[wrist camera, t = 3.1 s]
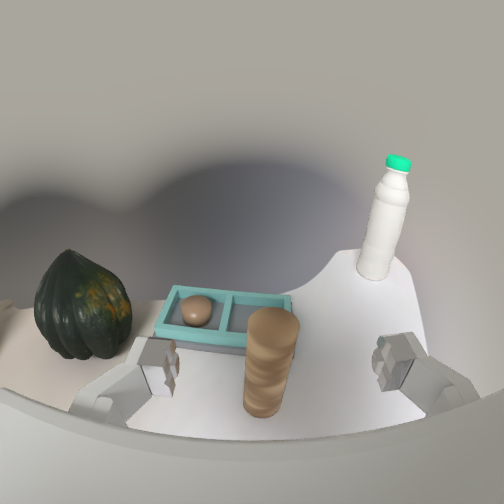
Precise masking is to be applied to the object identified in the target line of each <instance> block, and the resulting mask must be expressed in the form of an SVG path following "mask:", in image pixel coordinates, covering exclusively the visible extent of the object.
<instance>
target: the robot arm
mask: <svg viewBox="0 0 504 504" xmlns="http://www.w3.org/2000/svg"><path fill="white" fill-rule="evenodd" d="M377 345H378V348H377V349H376V350H374V352H373V356H372V367H373V370H374V372H375V373H376V374H377V375H379V377H378V380H377V381H378V383H379V386H380V388H381V391H382V392H384V391H391V390H398V389H400V391H401V392H402V393H403V394H404V395H405V396H407V397H408V398H409V399H410V400H411V401H412V402H413V403H414V404H416V405H417V406H418V407H419V408H420V409H421V410H422V411H423V412H425V413H426V416H425V417H424V418H422V419H419V420H415V421H411V422H407V423H403V424H399V425H394V426H390V427H385V428H380V429H375V430H370V431H364V432H358V433H352V434H345V435H338V436H330V437H321V438H310V439H296V440H273V441H240V440H217V439H203V438H192V437H183V436H174V435H167V434H160V433H154V432H148V431H142V430H137V429H132V428H129V427H128V426H127V424H126V423H125V422H126V421H127V420H128V419H129V418H130V417H131V416H132V415H133V414H135V413H136V412H137V411H138V410H139V409H140V408H141V407H142V406H143V405H144V404H145V403H146V402H147V401H148V400H149V399H150V398H151V397H152V396H162V397H173V393H174V389H175V381H174V379H175V378H176V377H178V373H179V356H178V354H177V353H176V352H175V349H176V343H175V340H174V339H168V338H158V337H146V336H137V337H136V338H135V341H134V343H133V345H132V347H131V349H130V351H129V353H128V356H127V358H126V360H125V362H124V363H120V364H118V365H117V366H115V367H114V368H112V369H111V370H109V371H107V372H106V373H104V374H103V375H101V376H100V377H98V378H97V379H95V380H94V381H92V382H91V383H89V384H88V385H86V386H84V387H83V388H81V389H80V390H79V391H78V393H77V395H76V397H75V399H74V401H73V403H72V405H71V407H70V409H69V411H68V412H66V411H63V410H60V409H57V408H54V407H51V406H49V405H46V404H43V403H40V402H38V401H35V400H33V399H30V398H28V397H25V396H23V395H21V394H18V393H16V392H14V391H12V390H10V389H7V388H0V504H504V389H502V390H500V391H497V392H495V393H493V394H491V395H488V396H486V397H484V398H480V397H479V395H478V393H477V391H476V390H475V388H474V386H473V384H472V383H471V381H470V380H469V379H468V378H466V377H464V376H463V375H461V374H459V373H458V372H456V371H454V370H453V369H451V368H449V367H448V366H446V365H444V364H443V363H441V362H439V361H438V360H436V359H434V358H433V357H431V356H429V357H428V356H427V354H426V352H425V351H424V349H423V347H422V346H421V344H420V343H419V341H418V339H417V338H416V336H415V334H414V333H413V332H406V333H401V334H392V335H383V336H380V337H379V338H378V341H377Z"/></svg>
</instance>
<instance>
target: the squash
mask: <svg viewBox="0 0 504 504" xmlns="http://www.w3.org/2000/svg"><path fill="white" fill-rule="evenodd" d="M34 316H35V322H36V324H37V327H38V328H39V330H40V332H41V334H42V335H43V336H44V337H45V339H46V340H47V341H48V343H49V345H50V347H51V348H52V349H53V350H55V351H56V352H58V353H59V354H60V355H61V356H62V357H63V358H65V359H73V358H77V359H80V360H87V359H89V358H90V357H91V356H92V354H94V355H95V356H97V357H99V358H102V359H110V358H112V357H114V356H115V354H116V351H117V347H118V344H119V343H121V342H123V341H125V340H126V339H127V338H128V336H129V334H130V331H131V324H132V309H131V303H130V300H129V298H128V296H127V293H126V291H125V288H124V286H123V284H122V282H121V281H120V279H119V278H118V277H117V276H115V275H114V274H113V273H112V272H110V271H109V270H107V269H105V268H103V267H101V266H100V265H98V264H96V263H94V262H92V261H91V260H89V259H87V258H85V257H84V256H82V255H80V254H79V253H77V252H75V251H72V250H70V249H66V250H65V251H64V252H63V253H61V254H60V255H59V256H58V257H57V258H56V259H55V261H54V262H53V263H52V265H51V266H50V268H49V269H48V270H47V272H46V273H45V274H44V276H43V278H42V280H41V282H40V285H39V287H38V289H37V292H36V297H35V304H34Z"/></svg>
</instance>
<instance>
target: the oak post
mask: <svg viewBox="0 0 504 504" xmlns="http://www.w3.org/2000/svg"><path fill="white" fill-rule="evenodd" d="M298 332H299V322H298V320H297V318H296V317H295V316H294V315H293V314H292V313H291V312H289V311H287V310H285V309H282V308H278V307H265V308H261V309H259V310H257V311H255V312H254V313H252V314H251V316H250V317H249V319H248V329H247V346H246V363H245V380H244V397H243V405H244V408H245V410H246V411H247V412H248V413H249V414H250V415H252V416H254V417H257V418H267V417H270V416H273V415H274V414H275V413H276V412H277V411H278V410H279V407H280V404H281V400H282V396H283V393H284V389H285V385H286V381H287V377H288V373H289V369H290V365H291V361H292V357H293V353H294V349H295V345H296V340H297V336H298Z"/></svg>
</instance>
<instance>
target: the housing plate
mask: <svg viewBox="0 0 504 504" xmlns="http://www.w3.org/2000/svg"><path fill="white" fill-rule="evenodd" d="M265 307H278V308H282V309H285V310H287V311H289V312H291V313H292V302H291V299H290V295H277V294H263V293H250V292H240V291H228V290H218V289H208V288H197V287H188V286H179V285H173V287H172V289H171V291H170V293H169V295H168V298H167V300H166V302H165V304H164V306H163V309H162V311H161V313H160V315H159V317H158V320H157V322H156V324H155V326H154V329H155V332H154V334H153V337H158V338H168V339H174V340H175V343H176V347H178V348H185V349H192V350H199V351H207V352H215V353H224V354H234V355H244V356H246V346H247V329H248V319H249V317H250V316H251V314H252V313H254V312H255V311H257V310H259V309H261V308H265ZM293 357H294V353H293ZM293 357H292V359H293Z"/></svg>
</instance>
